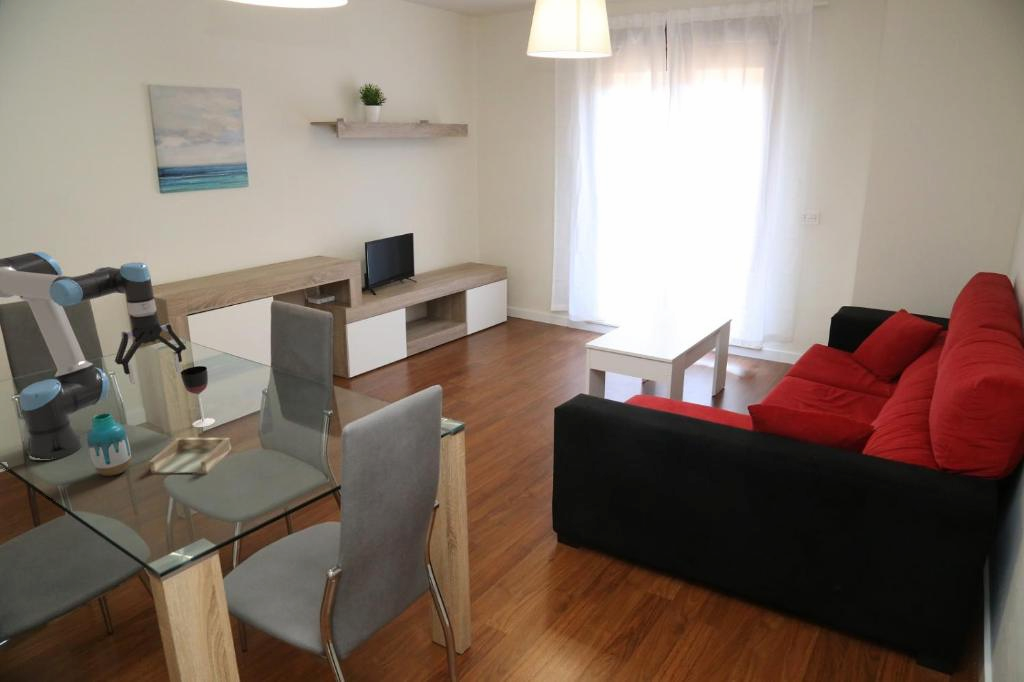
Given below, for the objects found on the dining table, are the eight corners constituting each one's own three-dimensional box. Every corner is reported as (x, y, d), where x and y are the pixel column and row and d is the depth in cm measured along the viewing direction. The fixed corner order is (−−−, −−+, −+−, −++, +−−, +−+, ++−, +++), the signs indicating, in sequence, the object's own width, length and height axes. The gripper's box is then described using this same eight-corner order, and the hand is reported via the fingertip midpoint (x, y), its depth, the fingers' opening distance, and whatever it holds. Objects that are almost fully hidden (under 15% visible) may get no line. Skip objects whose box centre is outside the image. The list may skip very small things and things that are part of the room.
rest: (151, 473, 215) (148, 461, 213) (179, 448, 230) (177, 437, 229) (207, 473, 213) (205, 462, 212) (232, 448, 229) (230, 437, 228)
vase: (118, 482, 210) (103, 424, 204) (87, 479, 212) (73, 422, 206) (142, 465, 220) (129, 409, 214) (113, 463, 222) (99, 408, 216)
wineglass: (221, 419, 251) (211, 367, 245) (202, 429, 244) (191, 376, 238) (205, 416, 255) (195, 365, 248) (185, 425, 247) (175, 373, 241)
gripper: (100, 324, 204) (115, 391, 211) (189, 307, 219) (200, 370, 226) (95, 319, 209) (109, 384, 216) (181, 303, 225) (192, 364, 232)
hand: (156, 377), depth 221 cm, fingers open, 13 cm apart
